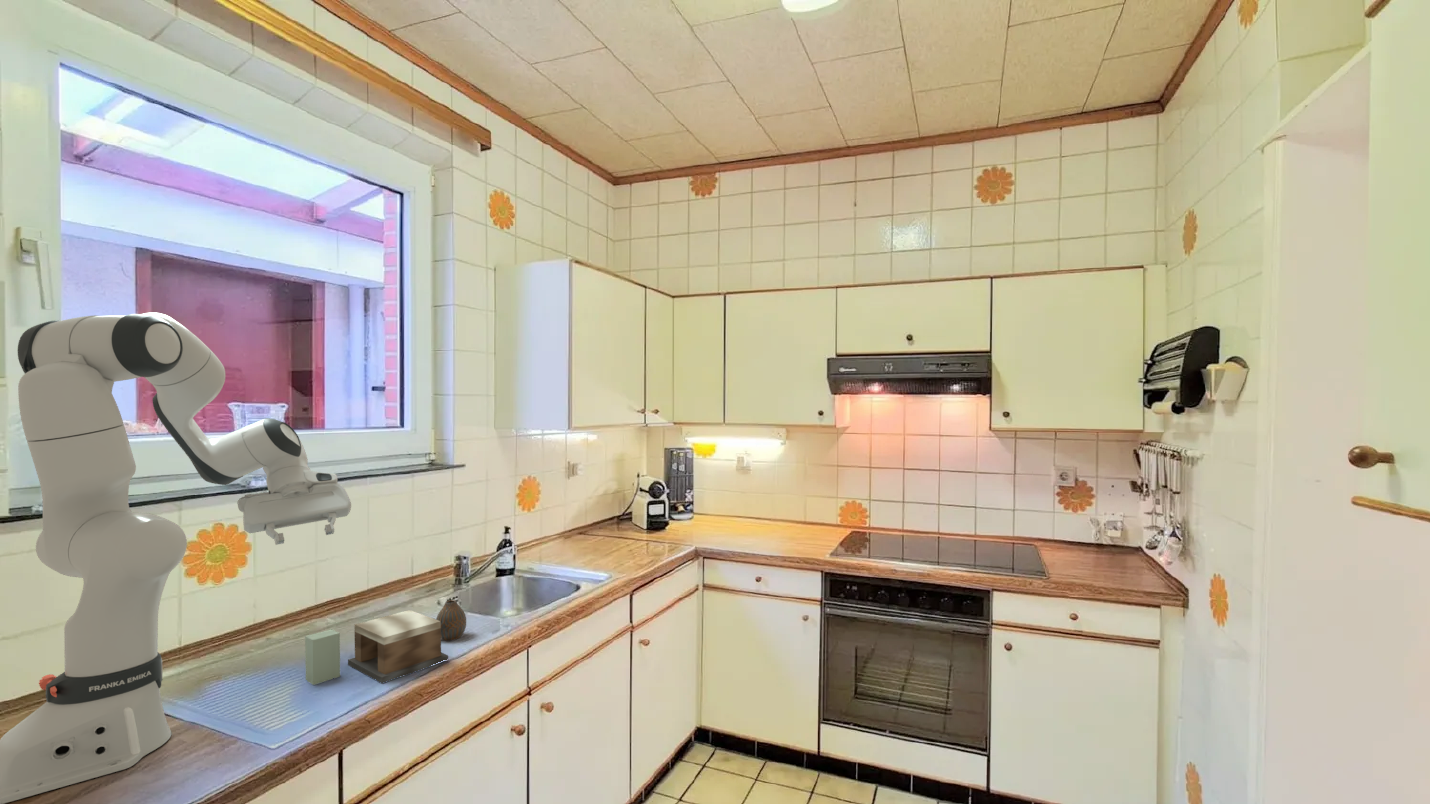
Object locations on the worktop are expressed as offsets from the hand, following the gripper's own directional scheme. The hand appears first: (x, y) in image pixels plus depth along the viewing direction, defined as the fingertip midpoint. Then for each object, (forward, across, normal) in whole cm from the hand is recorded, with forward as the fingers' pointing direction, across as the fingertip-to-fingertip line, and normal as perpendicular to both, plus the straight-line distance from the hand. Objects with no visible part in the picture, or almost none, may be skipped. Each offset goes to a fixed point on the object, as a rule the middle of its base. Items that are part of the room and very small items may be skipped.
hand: (305, 537), depth 137 cm
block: (+28, -1, +11) cm, 30 cm away
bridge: (+31, +12, +9) cm, 34 cm away
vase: (+27, +26, +15) cm, 40 cm away
